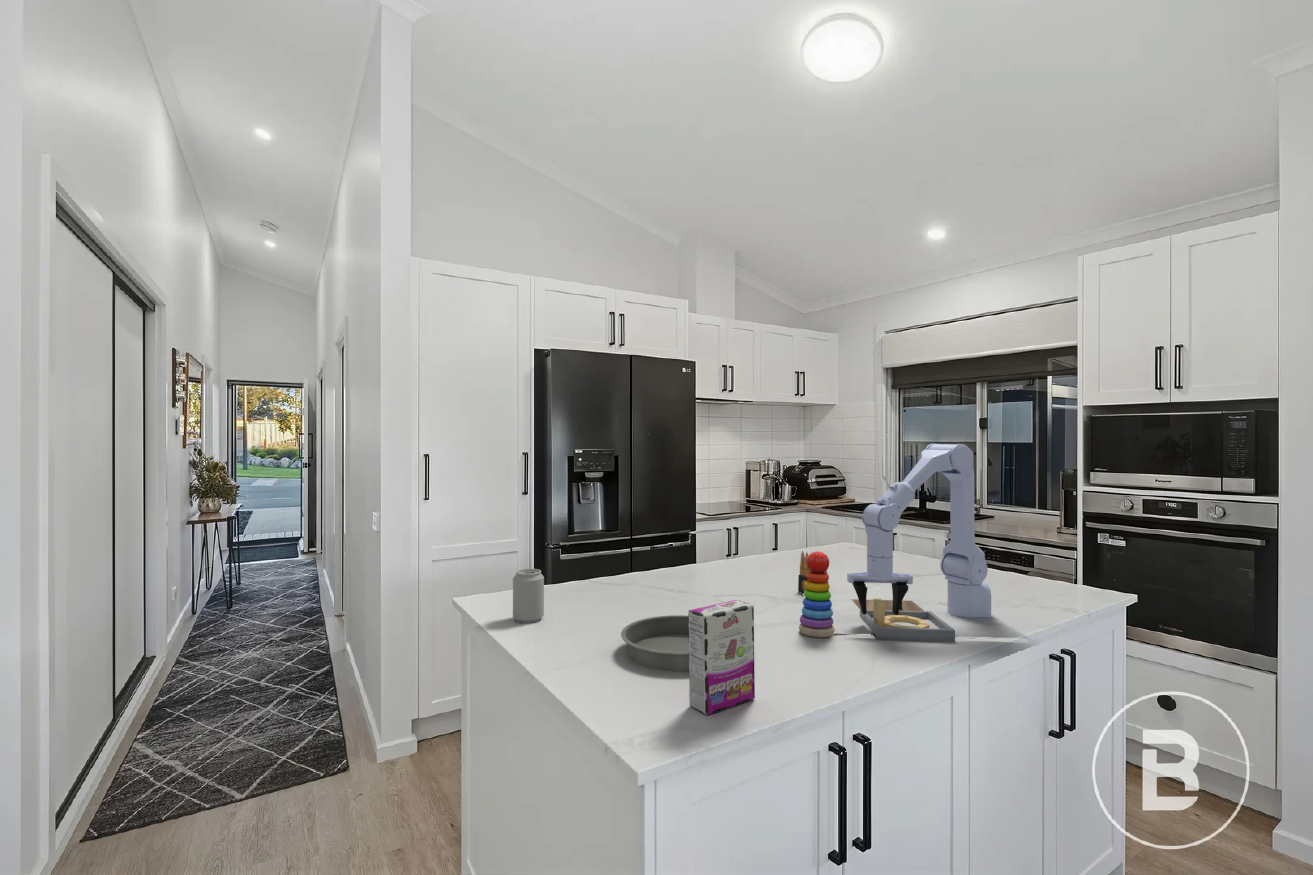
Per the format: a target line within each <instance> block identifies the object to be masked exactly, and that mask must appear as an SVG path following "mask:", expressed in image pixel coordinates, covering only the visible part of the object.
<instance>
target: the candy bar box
mask: <svg viewBox="0 0 1313 875" xmlns="http://www.w3.org/2000/svg"><path fill="white" fill-rule="evenodd" d="M754 606H755V605H754V604H751V603H748V602H745V601H741V600H739V599H734V600H729V601H723V602H720V603H715V604H711V605H707V606H702V607H698V608H693V609H688V611H687V612H688V615H687V616H688V618H689V671H688V672H689V674H688V676H689V677H688V678H689V680H688V682H689V685H688V686H689V687H688V688H689V691H688V692H689V707H691V708H692V709H694V710H696V711H698V712H700V713H702V714H703V715H706V716H710V715H713V714H716V713H719V712H721V711H724V710H727V709H730V708H733V707H736V706H738V705H741V704H744V703H746V702H749V701H752V700H755V698H756V694H755V693H756V692H755V691H756V690H755V685H756V684H755V678H756V677H755V623H754V622H755V608H754Z"/></svg>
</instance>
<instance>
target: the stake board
mask: <svg viewBox="0 0 1313 875" xmlns="http://www.w3.org/2000/svg"><path fill="white" fill-rule="evenodd" d="M882 600H883V601H884V602H885V610H892V605H893V599H882ZM851 601H852V602H853V603H854V604H855V606H856V607H857V608H858V609H859V611H860V610H861V607H860V603H859V599H858V598H857V599H851ZM873 604H874V599H866V608H867V610H873ZM899 611H925V610H924V609H923V608H921V606H919V605H918V604H917V603H915V601H912V600H902V609H900V610H899Z"/></svg>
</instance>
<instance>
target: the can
mask: <svg viewBox="0 0 1313 875" xmlns="http://www.w3.org/2000/svg"><path fill="white" fill-rule="evenodd" d="M544 616H545V577H544V575H543V574H542V570H541V569H538V568H522V569H518V570H516V571H515V575H514V576H513V578H512V618H513V619H514V620H515V621H516V622H517V623H523V624H525V623H527V624H530V623H536V622H539V621H540V620H541V619H542V618H543V617H544Z"/></svg>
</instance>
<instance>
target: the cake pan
mask: <svg viewBox="0 0 1313 875" xmlns="http://www.w3.org/2000/svg"><path fill="white" fill-rule="evenodd" d="M620 637H621V639H622V640H623V641H624V643H626V646H627V649H628V653H629V656H630V658H631V659H632V660H633V661H634V662H636V663H638V664H641V665H643V666H645V667H649V668H653V669H656V670H657V669H658V670H664V671H672V672H673V671H675V672H677V671H678V672H689V618H688V615H678V614H677V615H676V614H675V615H673V614H672V615H671V614H670V615H657V616H652V617H647V618H642V619H639V620H636V621H633V622H631V623H629V624H627V625H626V626H625V627H623V629H622V630H621V633H620Z"/></svg>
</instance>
